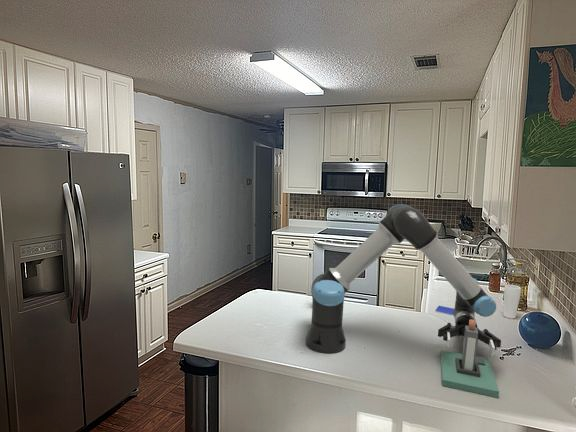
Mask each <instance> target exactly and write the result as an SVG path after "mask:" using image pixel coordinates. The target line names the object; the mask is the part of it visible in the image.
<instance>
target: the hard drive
mask: <svg viewBox="0 0 576 432" xmlns="http://www.w3.org/2000/svg"><path fill="white" fill-rule="evenodd" d="M434 312H435V313H439V314H443V315H448V316H451V317H454V314H453V312H454V307H453V308H452V307H448V306H443V305H438V306H437V308H436V309H435V311H434Z"/></svg>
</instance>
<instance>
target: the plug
mask: <svg viewBox="0 0 576 432" xmlns="http://www.w3.org/2000/svg"><path fill="white" fill-rule="evenodd" d="M475 320H476V319H475ZM475 320H472V319H470V320H469V326H465V333H464V336H463V342H462V343H463V344H462V352H461V354H462V360H461V369H465V370H470V371H474V366H475V358H476V357H477V349H478V330H477V327H478V326H477V327H475V325H476V323H477V320H476V321H475Z"/></svg>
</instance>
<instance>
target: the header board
mask: <svg viewBox="0 0 576 432" xmlns="http://www.w3.org/2000/svg"><path fill="white" fill-rule="evenodd" d="M461 360H462V353H459V352H453V351H449V350H448V351H447V350H442V349H441V350H440V371H441V385H442V387H446V388H451V389H456V390H460V391H465V392H470V393H474V394H478V395H484V396H488V397H493V398H499V396H500V390H499V386H498V384H497V381H496V380H497V379H496V377H495V374H494V371H493V367H492V364H491V361H490V358H485V357H482V356H476V358H475V366H474V371H470V370H465V369H461Z"/></svg>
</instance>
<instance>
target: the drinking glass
mask: <svg viewBox="0 0 576 432" xmlns="http://www.w3.org/2000/svg"><path fill="white" fill-rule="evenodd" d="M521 292H522V288H521V287H520V286H518V285H516V284H510V283H509V284H505V285H504V289H503V306H502V308H503V311H502V316H503V317H504V318H506V319H510V320H511V319H516V317H517V312H518V308H519V307H518V306H519V303H520V298H521Z"/></svg>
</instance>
